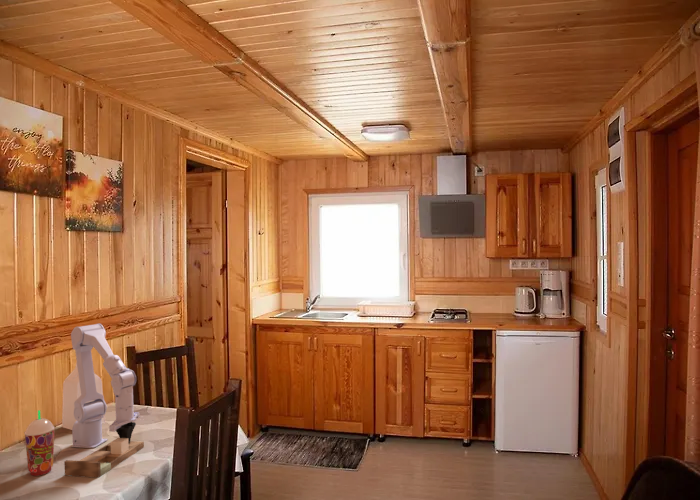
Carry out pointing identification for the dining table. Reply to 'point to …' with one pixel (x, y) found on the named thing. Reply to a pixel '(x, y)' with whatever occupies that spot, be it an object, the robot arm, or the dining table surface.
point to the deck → (100, 461)
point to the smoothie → (39, 446)
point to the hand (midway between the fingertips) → (125, 445)
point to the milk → (75, 397)
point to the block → (119, 446)
